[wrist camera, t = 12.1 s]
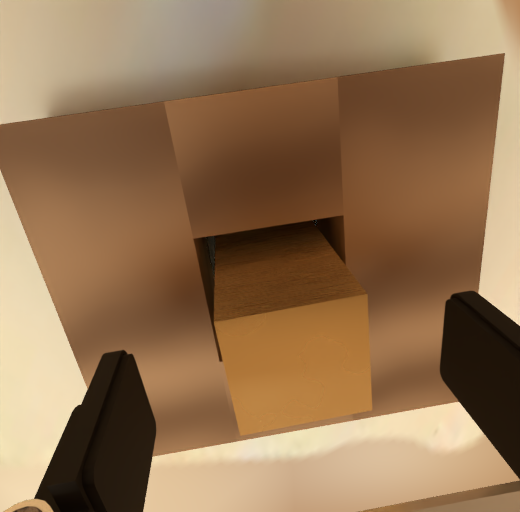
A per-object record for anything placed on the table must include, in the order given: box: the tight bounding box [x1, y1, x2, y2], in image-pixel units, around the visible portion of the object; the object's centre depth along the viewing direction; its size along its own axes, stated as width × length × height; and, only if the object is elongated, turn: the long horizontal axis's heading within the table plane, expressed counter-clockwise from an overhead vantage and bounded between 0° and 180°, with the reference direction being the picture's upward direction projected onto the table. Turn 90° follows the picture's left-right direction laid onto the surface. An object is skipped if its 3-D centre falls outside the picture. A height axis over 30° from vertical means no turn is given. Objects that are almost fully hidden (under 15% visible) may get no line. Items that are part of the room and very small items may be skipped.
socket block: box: [0, 53, 505, 457], centre depth 18 cm, size 16×18×5 cm
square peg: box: [214, 220, 372, 436], centre depth 16 cm, size 4×4×10 cm
